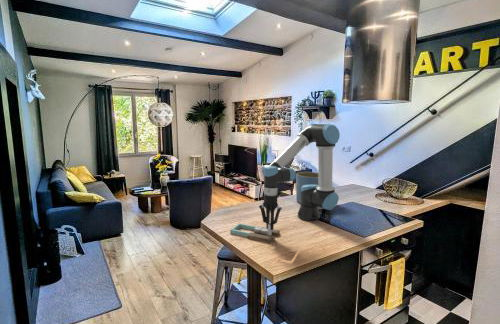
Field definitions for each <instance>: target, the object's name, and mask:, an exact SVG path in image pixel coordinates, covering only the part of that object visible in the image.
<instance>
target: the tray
mask: <svg viewBox="0 0 500 324" xmlns="http://www.w3.org/2000/svg"><path fill="white" fill-rule="evenodd" d="M256 227H257V225H256V226H254V225H250V224H245V223H239V222H238V224H236V225H234V226H233V227H232V228H231V229H230V230H229V231H230V232H229V233H230V234H231V235H237V236H242V237H245V238H248V234H249V233H250V232H247V231H242V230H239V229H245V230H249V231H254V228H256Z"/></svg>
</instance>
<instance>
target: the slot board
mask: <svg viewBox="0 0 500 324" xmlns="http://www.w3.org/2000/svg"><path fill="white" fill-rule="evenodd" d="M257 227H260V226H257ZM261 227H262V228H265V227H263V226H261ZM248 233H249V234H248V237H247V239H249V240H254V241H259V242H263V243H268V244H272V243H273V242H274V241H275V240H276V239H277V237H278V236H279V235H280V233H281V230H280V229H275V228H273V230H272V234H271V236H266V235H262V234H257V233H254V232H248Z"/></svg>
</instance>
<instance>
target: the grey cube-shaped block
mask: <svg viewBox="0 0 500 324" xmlns="http://www.w3.org/2000/svg"><path fill="white" fill-rule="evenodd" d="M262 227H263V226H259V227H258V226H256V228H254V230H253V233H257V234H261V230H262V229H263V228H262Z"/></svg>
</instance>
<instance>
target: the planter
mask: <svg viewBox="0 0 500 324" xmlns="http://www.w3.org/2000/svg"><path fill="white" fill-rule="evenodd" d="M295 174H296V176H295V179H296V180H295V181H296V182H295V184H296V185H295V186H296V189H295V190H296V191H295V192H296V194H295V195H296V202H297V203H299V204H301V187H302V186H303V185H309V184H315V185H318V172H313V171H302V172H301V171H300V172H297V173H295Z"/></svg>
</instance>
